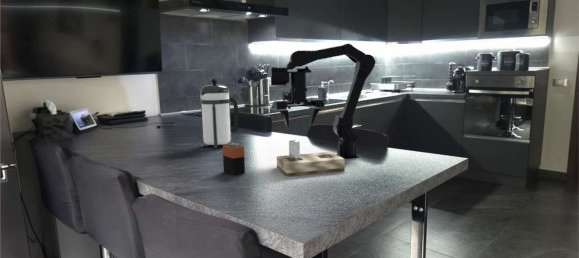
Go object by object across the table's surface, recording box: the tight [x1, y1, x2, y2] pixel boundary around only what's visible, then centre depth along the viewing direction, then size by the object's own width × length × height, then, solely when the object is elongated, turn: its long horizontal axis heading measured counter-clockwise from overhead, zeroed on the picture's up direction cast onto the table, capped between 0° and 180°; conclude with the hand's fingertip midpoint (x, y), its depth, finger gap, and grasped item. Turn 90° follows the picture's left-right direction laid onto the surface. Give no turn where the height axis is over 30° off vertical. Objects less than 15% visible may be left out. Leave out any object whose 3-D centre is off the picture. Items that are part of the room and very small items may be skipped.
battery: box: [222, 141, 246, 176], centre depth 131 cm, size 4×7×10 cm, turn 42°
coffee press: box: [199, 78, 240, 150], centre depth 176 cm, size 17×16×30 cm
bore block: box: [276, 151, 346, 177], centre depth 134 cm, size 20×12×4 cm, turn 107°
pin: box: [288, 139, 301, 161], centre depth 132 cm, size 4×4×9 cm
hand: (299, 127), depth 149 cm, fingers open, 9 cm apart
